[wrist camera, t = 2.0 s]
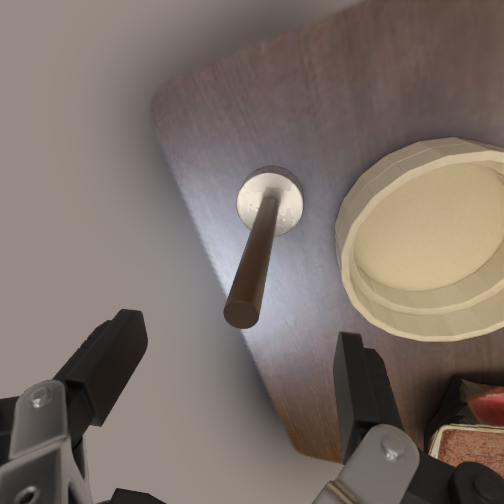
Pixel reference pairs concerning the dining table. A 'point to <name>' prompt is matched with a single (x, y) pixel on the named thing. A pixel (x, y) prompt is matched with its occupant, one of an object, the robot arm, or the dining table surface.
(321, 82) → the dining table surface
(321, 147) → the dining table surface
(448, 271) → the bowl
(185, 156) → the dining table surface
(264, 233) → the rod with silver disc
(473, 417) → the baking dish
